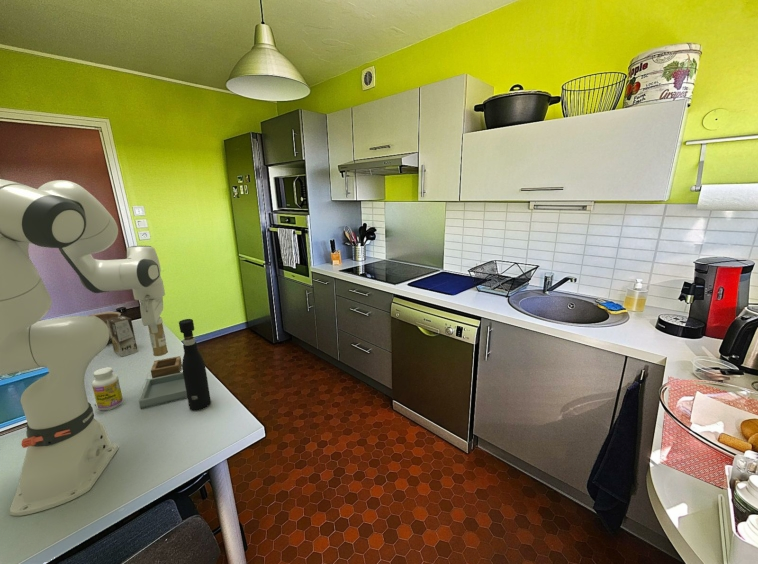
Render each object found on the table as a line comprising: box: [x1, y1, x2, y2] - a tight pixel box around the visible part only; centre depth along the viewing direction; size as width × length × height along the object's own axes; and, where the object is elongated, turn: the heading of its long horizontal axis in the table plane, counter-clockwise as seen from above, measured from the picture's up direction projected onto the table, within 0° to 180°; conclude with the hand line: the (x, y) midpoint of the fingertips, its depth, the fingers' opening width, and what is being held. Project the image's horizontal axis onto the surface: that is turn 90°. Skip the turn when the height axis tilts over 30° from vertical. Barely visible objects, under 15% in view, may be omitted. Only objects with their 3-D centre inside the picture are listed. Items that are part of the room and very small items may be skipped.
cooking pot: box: [87, 311, 122, 343], centre depth 157 cm, size 25×19×12 cm
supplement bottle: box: [91, 366, 124, 411], centre depth 107 cm, size 7×7×13 cm
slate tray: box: [138, 371, 188, 410], centre depth 115 cm, size 15×15×3 cm
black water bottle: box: [178, 318, 212, 412], centre depth 104 cm, size 6×6×30 cm
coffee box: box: [107, 314, 139, 357], centre depth 145 cm, size 9×6×16 cm
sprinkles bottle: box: [147, 316, 169, 357], centre depth 115 cm, size 5×5×14 cm
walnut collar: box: [150, 355, 183, 379], centre depth 128 cm, size 9×9×4 cm
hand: (156, 330), depth 114 cm, fingers closed on sprinkles bottle, 4 cm apart
